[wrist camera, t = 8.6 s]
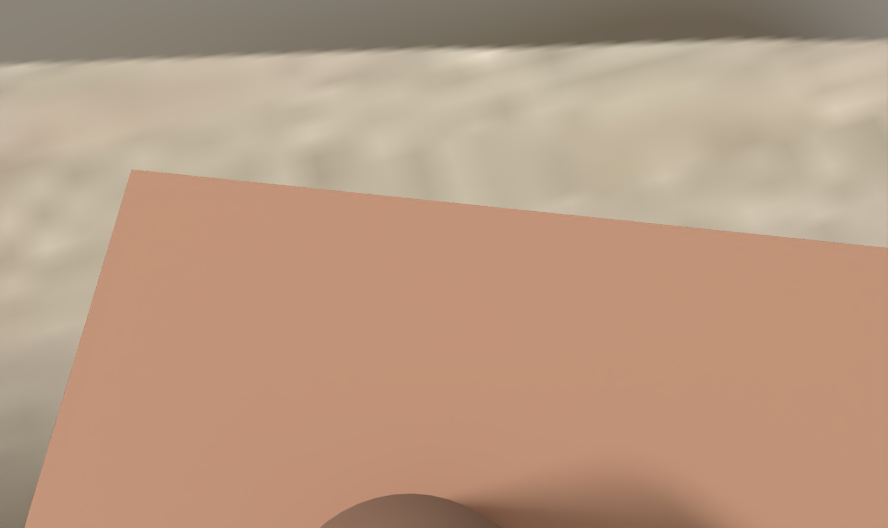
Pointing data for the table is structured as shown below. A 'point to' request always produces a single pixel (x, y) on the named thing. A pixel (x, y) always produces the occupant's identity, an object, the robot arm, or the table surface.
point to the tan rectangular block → (464, 370)
